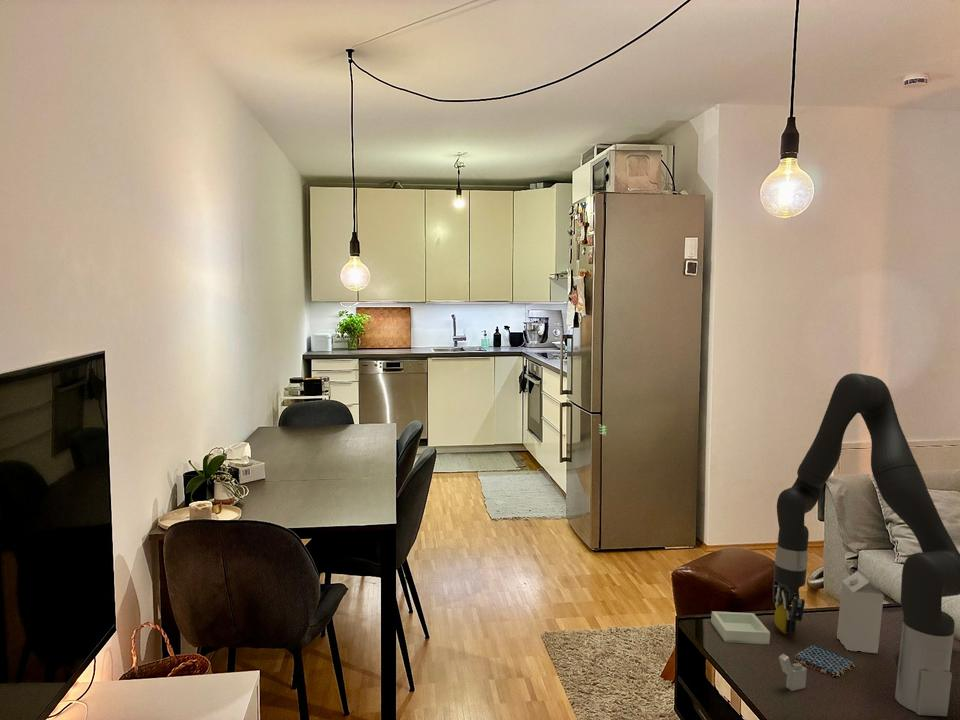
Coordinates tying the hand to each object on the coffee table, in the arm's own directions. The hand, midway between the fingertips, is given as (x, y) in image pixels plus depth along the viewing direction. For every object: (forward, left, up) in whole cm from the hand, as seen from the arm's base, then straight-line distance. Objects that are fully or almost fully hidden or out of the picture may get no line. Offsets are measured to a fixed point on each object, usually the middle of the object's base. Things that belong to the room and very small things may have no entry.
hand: (784, 627), depth 186 cm
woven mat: (-15, -3, -2) cm, 15 cm away
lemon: (0, 0, -2) cm, 2 cm away
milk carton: (-5, -16, -2) cm, 17 cm away
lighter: (-27, +10, -2) cm, 29 cm away
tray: (-1, +12, -1) cm, 12 cm away
